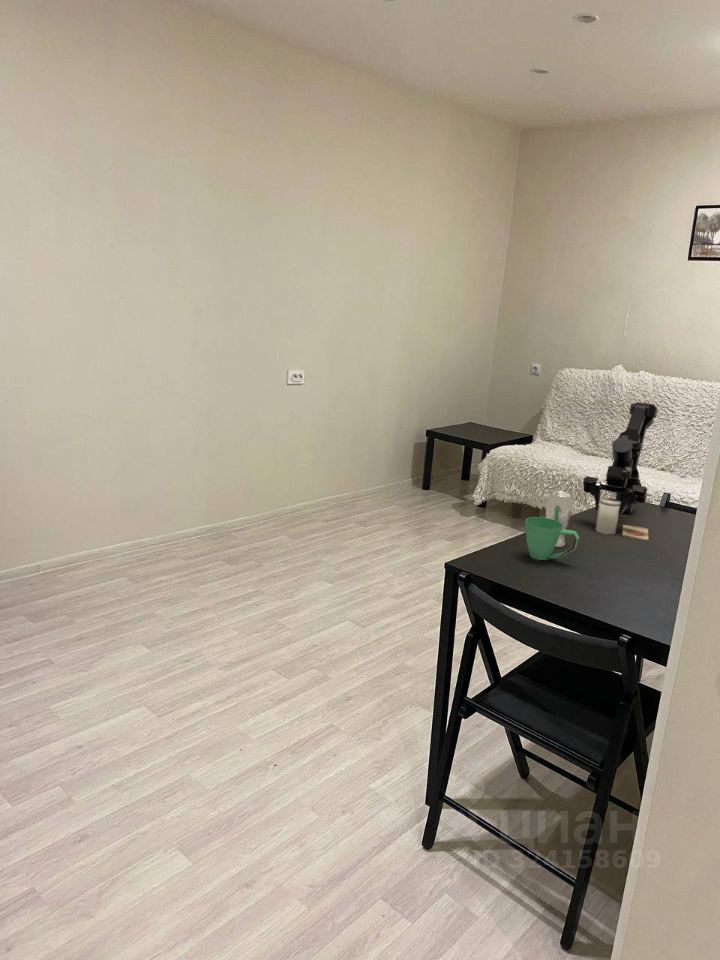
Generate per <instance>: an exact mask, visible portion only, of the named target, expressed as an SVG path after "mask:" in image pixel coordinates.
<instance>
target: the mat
mask: <svg viewBox="0 0 720 960" xmlns="http://www.w3.org/2000/svg"><path fill="white" fill-rule="evenodd" d="M621 531H622V532H621V536H623V538H628V537H629V538H630V539H636V540H641V541H647V542H649V528H648V527H647V528H646V527H641V526H635V525H630V524H629V525H628V524H622V530H621ZM629 538H628V539H629Z"/></svg>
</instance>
